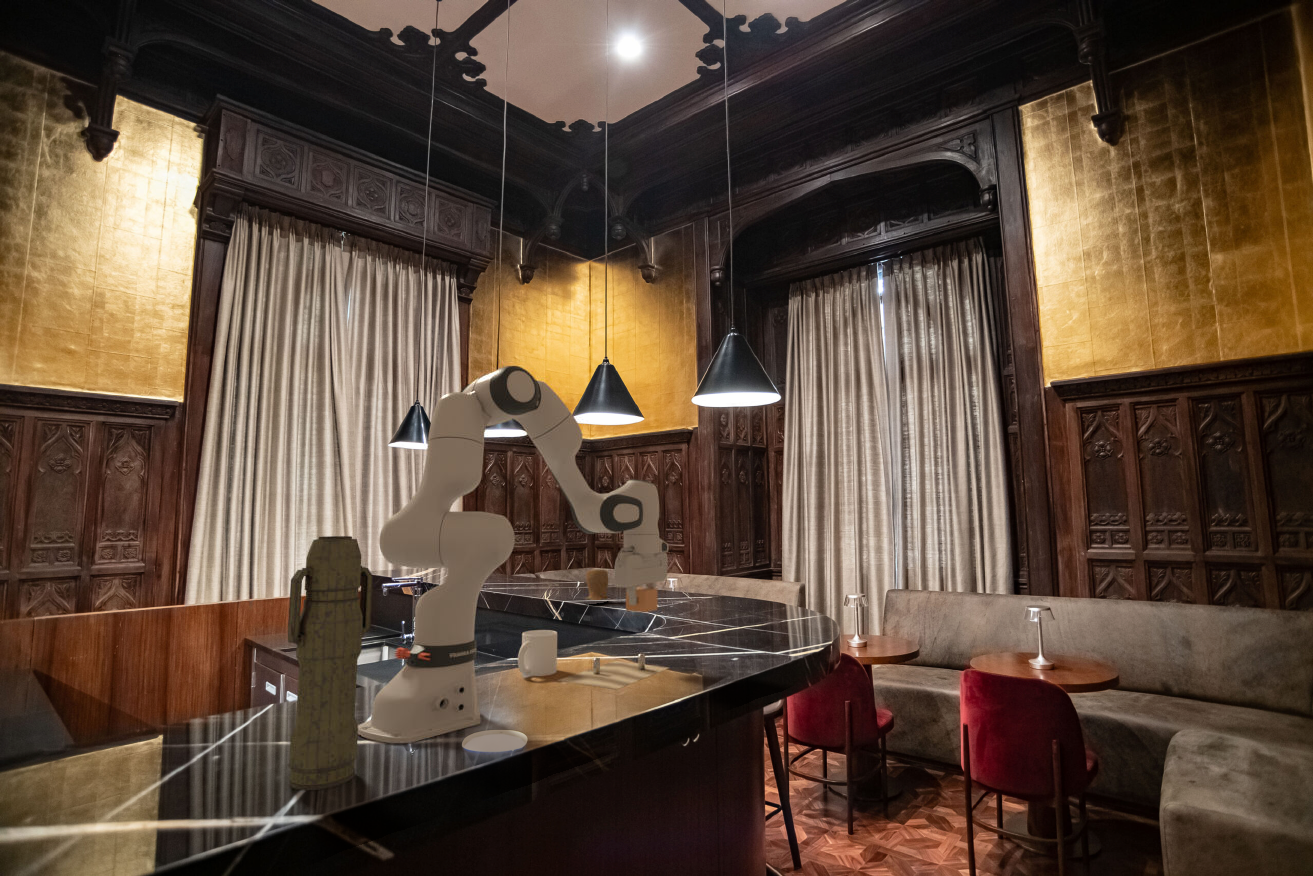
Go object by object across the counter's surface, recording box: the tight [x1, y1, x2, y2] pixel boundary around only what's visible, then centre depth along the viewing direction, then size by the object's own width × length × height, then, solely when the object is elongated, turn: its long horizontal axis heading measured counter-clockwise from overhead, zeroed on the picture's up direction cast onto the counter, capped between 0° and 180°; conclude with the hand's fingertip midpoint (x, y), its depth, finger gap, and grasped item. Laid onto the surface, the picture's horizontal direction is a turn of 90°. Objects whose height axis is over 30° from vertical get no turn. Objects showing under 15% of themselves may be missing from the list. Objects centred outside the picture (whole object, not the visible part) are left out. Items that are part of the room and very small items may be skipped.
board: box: [556, 660, 670, 691], centre depth 159 cm, size 24×16×1 cm, turn 150°
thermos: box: [287, 535, 374, 791], centre depth 101 cm, size 9×12×35 cm
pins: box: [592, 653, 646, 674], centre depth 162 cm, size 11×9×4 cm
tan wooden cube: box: [625, 586, 658, 613], centre depth 166 cm, size 6×6×5 cm
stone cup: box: [584, 569, 611, 600], centre depth 299 cm, size 15×12×15 cm
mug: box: [517, 629, 558, 679], centre depth 160 cm, size 12×8×10 cm
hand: (641, 603), depth 166 cm, fingers closed on tan wooden cube, 6 cm apart
